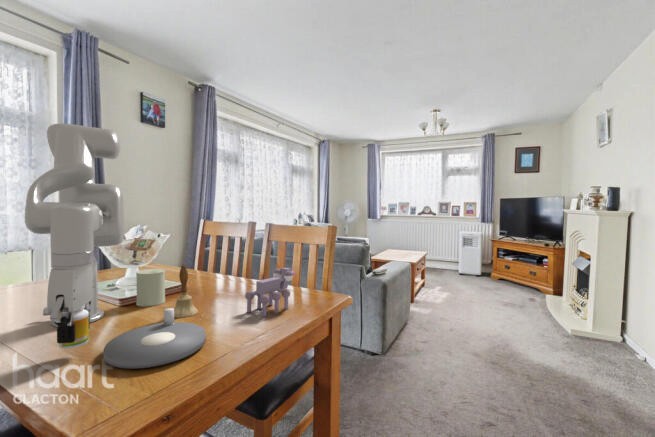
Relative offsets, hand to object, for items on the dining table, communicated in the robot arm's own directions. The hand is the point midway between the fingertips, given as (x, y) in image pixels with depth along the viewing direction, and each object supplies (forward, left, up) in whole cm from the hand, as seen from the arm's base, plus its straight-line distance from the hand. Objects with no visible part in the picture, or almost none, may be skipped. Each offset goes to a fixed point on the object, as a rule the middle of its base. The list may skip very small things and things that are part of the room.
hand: (74, 335), depth 71 cm
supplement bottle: (0, 0, -2) cm, 2 cm away
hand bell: (+18, +26, -5) cm, 32 cm away
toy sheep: (+48, +26, -5) cm, 55 cm away
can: (+4, +40, -5) cm, 41 cm away
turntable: (+17, +1, -5) cm, 18 cm away
